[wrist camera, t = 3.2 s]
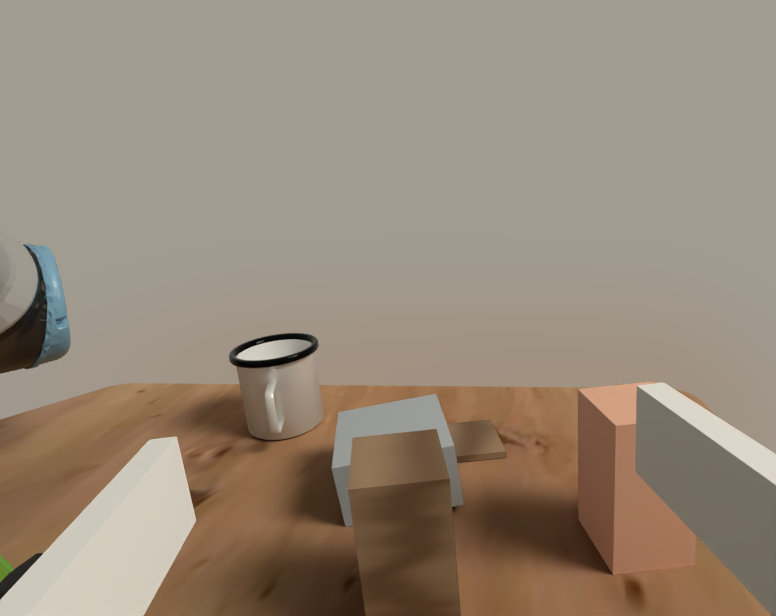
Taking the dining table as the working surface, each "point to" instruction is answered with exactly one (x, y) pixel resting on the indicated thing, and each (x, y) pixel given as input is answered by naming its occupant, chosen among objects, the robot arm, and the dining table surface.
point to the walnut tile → (476, 441)
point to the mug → (279, 385)
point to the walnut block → (403, 525)
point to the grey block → (387, 421)
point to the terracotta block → (623, 489)
